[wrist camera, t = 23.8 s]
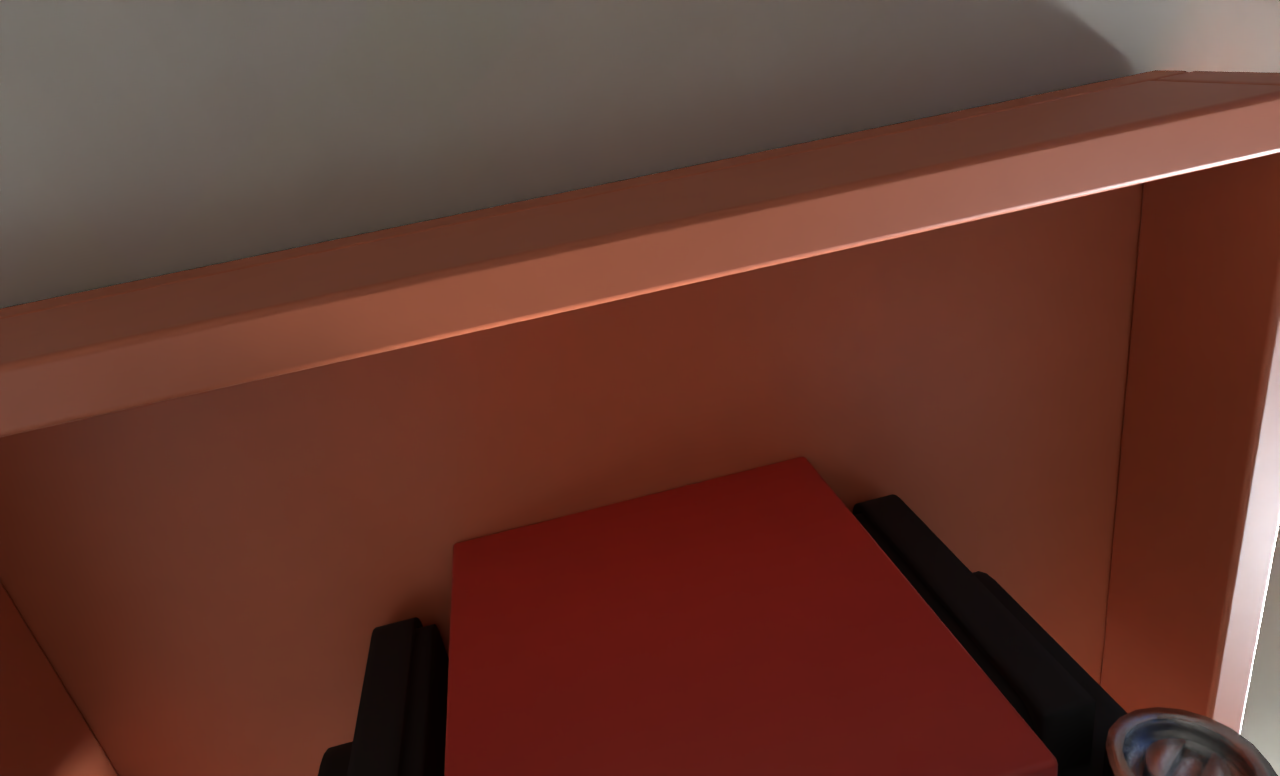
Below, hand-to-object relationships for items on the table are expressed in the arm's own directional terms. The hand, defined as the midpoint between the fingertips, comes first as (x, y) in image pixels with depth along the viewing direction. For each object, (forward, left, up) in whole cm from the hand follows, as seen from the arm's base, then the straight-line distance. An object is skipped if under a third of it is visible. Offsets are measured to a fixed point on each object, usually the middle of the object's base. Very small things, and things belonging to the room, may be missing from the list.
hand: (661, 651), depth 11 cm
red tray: (0, 0, -1) cm, 1 cm away
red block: (0, 0, 0) cm, 0 cm away
